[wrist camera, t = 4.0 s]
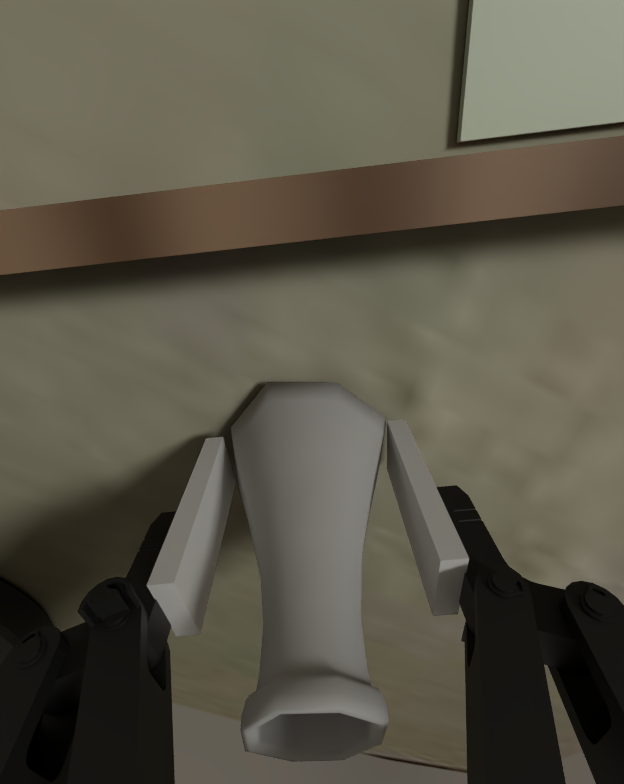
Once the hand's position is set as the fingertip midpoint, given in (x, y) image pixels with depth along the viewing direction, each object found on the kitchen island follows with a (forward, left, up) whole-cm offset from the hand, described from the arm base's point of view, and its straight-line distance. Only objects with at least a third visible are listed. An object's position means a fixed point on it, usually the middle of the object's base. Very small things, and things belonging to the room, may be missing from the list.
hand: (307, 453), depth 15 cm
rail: (+2, +10, -1) cm, 10 cm away
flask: (0, 0, -1) cm, 1 cm away
